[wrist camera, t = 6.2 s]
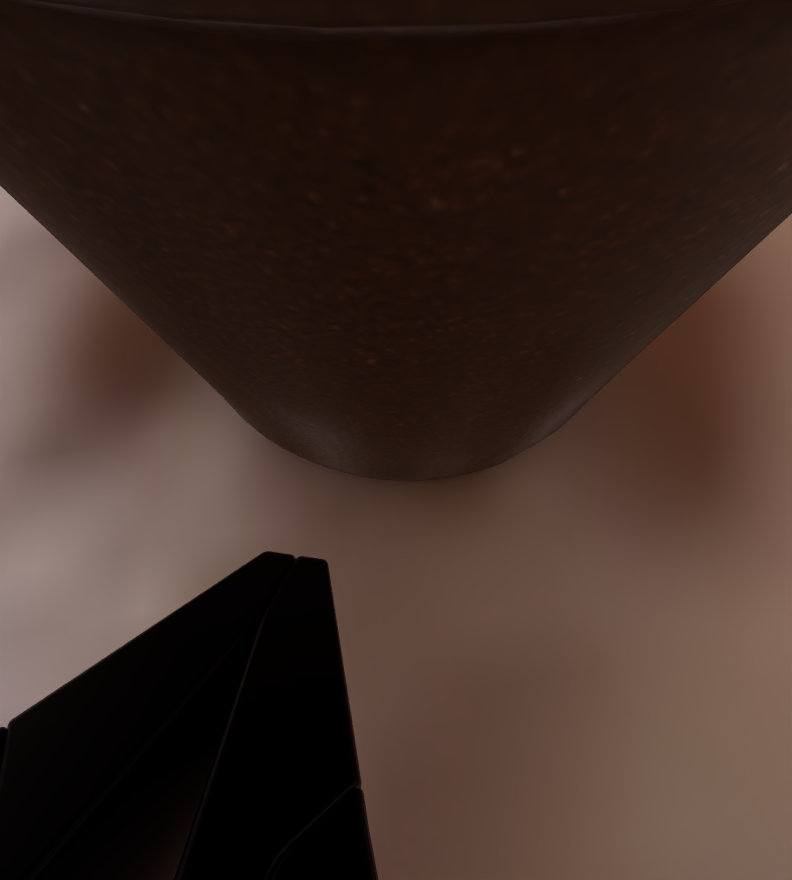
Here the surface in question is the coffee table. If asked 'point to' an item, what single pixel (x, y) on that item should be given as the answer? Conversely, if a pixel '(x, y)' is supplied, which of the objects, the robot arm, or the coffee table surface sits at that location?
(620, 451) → the coffee table surface
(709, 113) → the plant pot
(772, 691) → the coffee table surface
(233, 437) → the coffee table surface
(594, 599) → the coffee table surface
